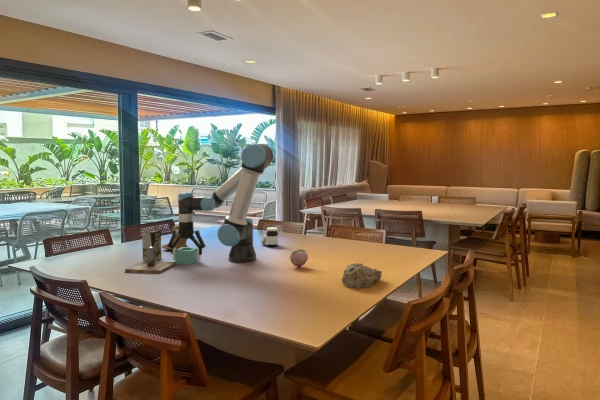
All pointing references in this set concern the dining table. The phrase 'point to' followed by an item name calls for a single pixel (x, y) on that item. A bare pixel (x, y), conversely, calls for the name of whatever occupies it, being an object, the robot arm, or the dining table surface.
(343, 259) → the dining table surface
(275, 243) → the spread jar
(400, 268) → the dining table surface
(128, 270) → the base plate
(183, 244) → the brown piece
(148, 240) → the coffee box
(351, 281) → the rock
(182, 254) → the teal hollow square block
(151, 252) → the post
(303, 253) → the decorative fruit
